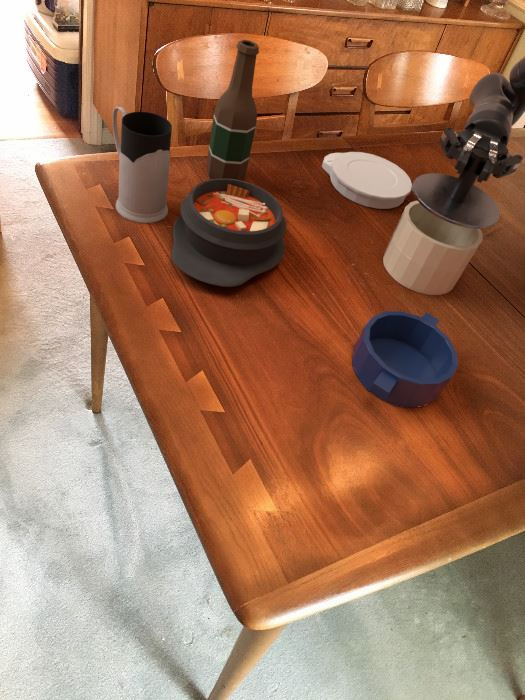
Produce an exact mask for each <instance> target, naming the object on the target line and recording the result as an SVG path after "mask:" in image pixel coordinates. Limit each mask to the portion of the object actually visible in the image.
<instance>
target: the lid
mask: <svg viewBox="0 0 525 700" xmlns="http://www.w3.org/2000/svg"><path fill="white" fill-rule="evenodd" d="M321 168H322V170H323V171H325V173H327V175H329V176H330V177H329V178H330V182H331V184H332V185H333V187H334V189H335V190H336V191H337V192H338V193H339V194H341V195H342V197H344V198H346V199H347V200H350V201H351V202H353V203H356V204H358V205H361V206H363V207H365V208H366V207H367V208H371V209H372V208H373V209H378V210H391V209H393V208H398V207H399V206H400V205H401V204H403V203H404V202H405V200H406V197H407V196H409V195H410V194H411V191H412V186H413V182H412V181H411V177H410V176H409V175H408V174H407V173H406V171H405V170H404V169H402V168H401V167H399V165H397V164H395V163H394V162H392V161H390V160H388V159H386V158H384V157H381V156H378V155H376V154H373V153H372V154H371V153H368V152H363V151H348V152H347V151H346V152H333V153H329V154H327V155H325V156H324V158H323V161H322V164H321Z"/></svg>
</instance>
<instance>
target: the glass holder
mask: <svg viewBox="0 0 525 700" xmlns="http://www.w3.org/2000/svg"><path fill="white" fill-rule="evenodd" d="M118 111H120V113H121V114H122V118H121V129H120V130H121V132H120V134H121V135H120V137H119V132H118ZM112 132H113V138H114V139H113V140H114V143H115V144H114V145H115V149H116V152H117V155H118V157H119V159H118V160H119V161H118V162H119V165H118V167H119V168H118V197H117V200H116V201H115V209H116V211H117V213H118V214H119V215H120V216H122V217H123V218H124V219H126V220H128V221H132V222H135V223H140V224H152V223H157V222H160V221H161V220H163V219H165V218H166V217H167V215H168V213H169V208H168V204H167V196H168V186H169V175H170V167H171V166H170V165H171V141H172V133H173V125H172V123H171V122H170V121H169V120H168V119H167V118H166V117H164V116H162V115H159V114H157V113H154V112H149V111H132V112H127V111H126V110H125V108H124V107H122V106H116V107H114V108H113V109H112Z"/></svg>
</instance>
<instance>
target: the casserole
mask: <svg viewBox="0 0 525 700" xmlns="http://www.w3.org/2000/svg"><path fill="white" fill-rule="evenodd" d="M286 231H287V222H286V218H285V216H284V211H283V207H282V205H281V204H280V202H279V200H277V199H276V197H274V195H272V194H271V193H270V192H269V191H267V190H266V189H264V188H262V187H260V186H258V185H256V184H254V183H250V182H248V181H244V180H241V181H240V180H236V179H212V178H210V179H207V180H204V181H201V182H199V183H197V184H196V185H195V186H193V187H192V188H191V190H190V191H189V193H187V195H185V197H184V198H183V199H182V201H181V204H180V216H178V217H177V219H176V220H175V222H174V223H173V226H172V237H173V238H172V240H173V245H172V248H171V254H170V259H171V261H172V264H173V265H175V267H177V269H178V270H180V271H181V272H183V273H184V274H185V275H187V276H189V277H191V278H193V279H195V280H197V281H200V282H203V283H205V284H209V285H213V286H218V287H225V288H233V287H239V286H241V285H243V284H245V283H246V282H248V281H249V280H251V279H253V278H254V277H255V276H257V275H260V274H262V273H265V272H268V271H269V270H272V269H273V268H275V267H276V266H278V265H279V264H280V263H281V261H282V259H283V258H284V255H285V252H286V245H285V242H284V238H283V237H285V234H286Z"/></svg>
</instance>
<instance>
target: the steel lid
mask: <svg viewBox="0 0 525 700" xmlns="http://www.w3.org/2000/svg"><path fill="white" fill-rule="evenodd" d="M488 157H489V154H488V153H487V152H485V151H484V150H481V149H477V148H475V149H473V150H472V152H471V154H470V157H469V159H468V162H467V164H466V166H465V168H464V170H463V172H462V173H461V175H460V174H458V176H457V177H456V176H454V175H450V174H445V173H438V172H437V173H436V172H431V173H424V174H421V175H418V176H417V177H416V178H415V179H414V181H413V182H412V188H411V191H412V194H413V196H414V198H415V200H416V201H418V202H419V203H420V204H421V205H422V206H423V207H424V208H425V209H426V210H428V211H429V212H430V213H432V214H433V215H435V216H437V217H439V218H441V219H442V220H445V221H447V222H449V223H452V224H455V225H458V226H461V227H466V228H473V229H480V230H482V229H487V228H491V227H493V226H494V225H495V224H497V222H498V221H499V220H500V216H501V212H500V207H499V206H498V205H497V204H498V203H496V202H495V200H494V199H493V198H492V197H491V196H490V195H489V194H488V193H487V192H485V191H484V190H483V189H482V188H480V187H479V186H477V185H476V184H475V183H476V182H477V179H478V176H479V174H480V172H481V170H482V168H483V166H484V165H485V163H486V161H487V159H488Z"/></svg>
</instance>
